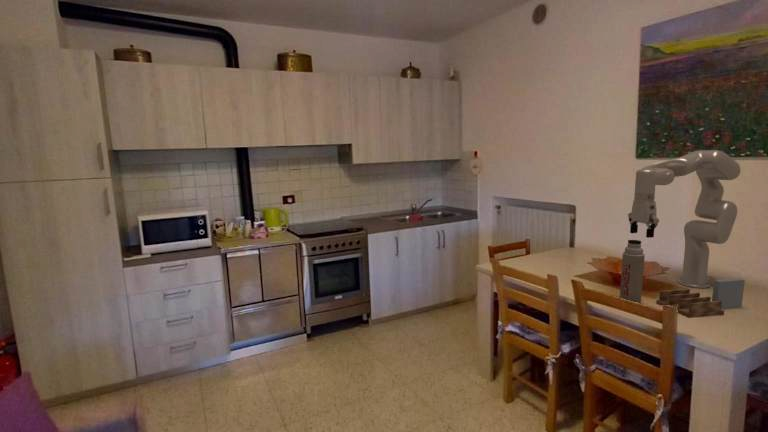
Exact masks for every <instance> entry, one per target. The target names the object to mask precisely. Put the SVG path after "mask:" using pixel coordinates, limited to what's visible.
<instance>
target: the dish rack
mask: <svg viewBox="0 0 768 432" xmlns="http://www.w3.org/2000/svg"><path fill="white" fill-rule="evenodd" d="M658 298H659V299H656V301H655V304H656V305H659V306H661V305H670V306H673V307H675V308H677V310H678V313H677V314H680V315H681V316H684V317H686V318H687V319H688V318H690V319H691V318H700V317H703V318H704V317H711V316H712V317H713V316H724V314H725V311H724V309H721V306H722V301H712V297H711V296H701V293H700V292H691V289H689V288H684V289H673V290H670V289H669V290H660V291H659V297H658Z"/></svg>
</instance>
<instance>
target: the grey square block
mask: <svg viewBox="0 0 768 432" xmlns="http://www.w3.org/2000/svg"><path fill="white" fill-rule="evenodd" d="M745 282H746V280H745V279H743V278H740V277H739V278H738V277H737V278H736V277H735V278H726V279H725V278H724V279H714V280H713V287H712V297H711V301H722V306H721V310H730V309H740V308H741V309H742V307H743V298H744V290H745Z"/></svg>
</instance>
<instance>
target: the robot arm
mask: <svg viewBox="0 0 768 432" xmlns="http://www.w3.org/2000/svg"><path fill="white" fill-rule="evenodd" d="M694 172H695V173H696V175H697V176H696V177H698V179H699V183H700V186H701V189H700V193H699V196H698V198H697V203H696V205H695V208H694V215H695V216H696V217H698V218H700V219H706V220H710V221H706V220H699V219H698V220H697V219H696V220H695V219H694V220H689V221H688V222H687V221H686V224H685V225H684V227H683V235H684V253H683V262H682V263H683V264H682V273H681V274H682V276H681V277H680V278H678V279H677V283H678V284H680V285H683V286H685V287H690V288H695V289H696V288H698V289H707V288H710V287H711V283H709V281H714V280H716V279H715V278H716V277H715V276H714V275H712V276H711V275H710V276H709V275H708V271H709V269H708V267H709V259H710V248H709V247H710V246H709V245H708V243H710V244H715V245H717V244H718V245H722V244H725V243H726V242H727V241H728V240H729V238H730V236H731V232H732V231H733V227H734V225H735V222H736V219H737V215H738V206H737V205H736V203H734V202H733V201H730V200H723V196H724V193H725V191H724V186H723V184H722V183H721V181H732V180H735V179H737V178H738V177H739V176H740V174H741V166H740V163H739V162H737V161H736V160H735V159H734V158H732V157H731V156H730V155H729V154H727V153H725V152H724V151H722V150H717V149H709V150H708V149H704V150H703V149H702V150H695V151H692V152H689V153H687V154H684V155H682V156H679V157H677V158H672V159H668V160H663V161H660V162H658V161H657V162H655V163H651V164H648V165H647V166H644V167H642V168H641V169H638V170H636V172H635V181H634V184H635V185H634V198H633V201H632V208H631V212H630V213H628V214H627V217H628V221H629V225H630V229H629V233H630V234H637V233H638V228H639V223H640V224H645V225H646V227H647V228H646V233H645V236H646V238H649V239H650V238H654V236H655V229H656V227H657V226H658V225H659V222H660V219H659V218H658V217H657V203H656V201H655V198H656V197H655V192H656V186H669V185H670V184H672V183H673V182H674V180H675V178H677V177H683V176H687V175H689V174H691V173H694ZM720 180H721V181H720ZM711 220H713V221H716V222H711Z"/></svg>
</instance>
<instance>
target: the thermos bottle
mask: <svg viewBox="0 0 768 432" xmlns="http://www.w3.org/2000/svg"><path fill="white" fill-rule="evenodd" d="M621 260H622V261H621V273H620V274H621V275H620V276H621V277H620V278H621V279H620V287H619V299H620V298H623V299H626V300H630V301H633V302H638V303H641V304H642V292H643V291H642V290H643V281H644V267H645V253H644V249H643V248H642V241H641V240H637V239H628V240H627V246H626V247H624V251H623V252H622V259H621Z"/></svg>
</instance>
